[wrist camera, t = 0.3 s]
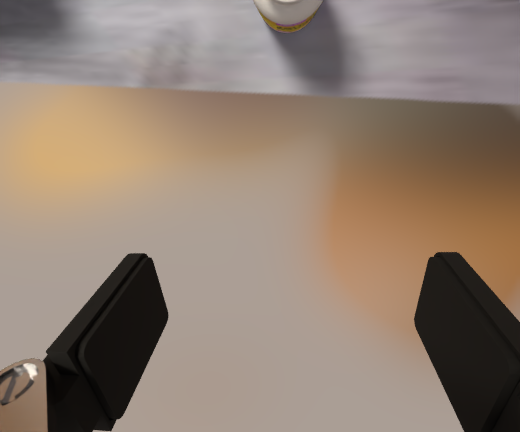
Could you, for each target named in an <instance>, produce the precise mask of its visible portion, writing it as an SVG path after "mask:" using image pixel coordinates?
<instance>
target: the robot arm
mask: <svg viewBox="0 0 520 432" xmlns="http://www.w3.org/2000/svg"><path fill="white" fill-rule="evenodd" d="M167 320H168V310H167V307H166V303H165V300H164V297H163V293H162V290H161V287H160V283H159V280H158V276H157V273H156V270H155V266H154V263H153V260H152V258H148V256H147V254H144V253H141V254H140V253H139V254H138V253H137V254H135V253H134V254H128V255H127V256H126V257H125V258H124V259H123V260H122V262H121V263H120V264H119V265H118V267H116V269H115V270H114V271H113V272H112V273H111V275H110V276H109V277H108V278H107V279H106V280H105V282H104V283H103V284H102V285H101V286H100V288H99V289H98V290H97V291H96V292H95V294H94V295H93V296H92V297H91V298H90V300H89V301H88V302H87V303H86V304H85V305H84V307H83V308H82V309H81V310H80V312H79V313H78V314H77V315H76V316H75V317H74V319H73V320H72V321H71V322H70V324H68V326H67V327H66V328H65V329H64V330H63V332H62V333H61V334H60V335H59V336H58V338H57V339H56V340H55V341H54V342H53V344H52V345H51V346H50V347H49V348H48V349H47V351H46V353H47V354H48V355H47V356H46V358H45V359H44V360H43V361H41V360H40V359H34V358H31V359H25V360H21V361H19V362H16V363H13V364H12V365H10V366H8V367H6V368H4V369H3V370H1V371H0V432H92V431H93V430H102V431H111V430H112V428H113V426H114V424H115V422H116V420H117V419H120V418H121V417H122V416H123V414H124V413H125V410H126V408H127V406H128V404H129V402H130V400H131V397H132V396H133V393H134V391H135V389H136V387H137V385H138V383H139V381H140V379H141V376H142V374H143V372H144V370H145V368H146V366H147V364H148V361H149V359H150V357H151V355H152V353H153V351H154V349H155V347H156V345H157V343H158V340H159V338H160V336H161V334H162V332H163V330H164V328H165V326H166V323H167ZM414 321H415V327H416V330H417V332H418V334H419V336H420V338H421V340H422V342H423V344H424V347H425V349H426V351H427V353H428V355H429V357H430V360H431V362H432V364H433V366H434V368H435V370H436V372H437V374H438V377H439V379H440V381H441V383H442V385H443V387H444V389H445V392H446V394H447V396H448V398H449V400H450V402H451V404H452V406H453V409H454V411H455V413H456V415H457V417H458V419H459V421H460V424H461V425H462V428H463V430H464V432H520V322H519V321H518V320H517V319H516V317H515V316H514V315H513V314H512V313H511V312H510V311H509V309H508V308H507V307H506V306H505V305H504V304H503V303H502V302H501V300H500V299H499V298H498V297H497V296H496V295H495V293H494V292H493V291H492V290H491V289H490V288H489V287H488V286H487V284H486V283H485V282H484V281H483V280H482V279H481V278H480V276H479V275H478V274H477V273H476V272H475V271H474V270H473V268H472V267H470V265H469V264H468V263H467V262H466V260H465V259H464V258H463V257H462V256H461V255H460V254H459V253H457V252H438V253H436V254H435V255H434V257H430V258H429V260H428V264H427V268H426V272H425V276H424V280H423V284H422V288H421V292H420V296H419V301H418V305H417V309H416V313H415V318H414Z"/></svg>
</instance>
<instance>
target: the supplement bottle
mask: <svg viewBox="0 0 520 432" xmlns="http://www.w3.org/2000/svg"><path fill="white" fill-rule="evenodd" d="M253 1H254V3H255V5H256V7H257V9H258V11H259V13H260V15H261V16H262V18H263V19H264V21H265V22H266V23H267V24H268V25H269V26H270V27H271V28H273V29H274V30H276V31H279V32H282V33H292V32H296V31H298V30H300V29H302V28H303V27H305V26H306V25H307V24H308V23H309V22H310V21H311V19H312V18H313V17H314V15H315V13H316V12H317V10H318V8H319V6H320V5H321V3H322V1H323V0H253Z"/></svg>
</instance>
